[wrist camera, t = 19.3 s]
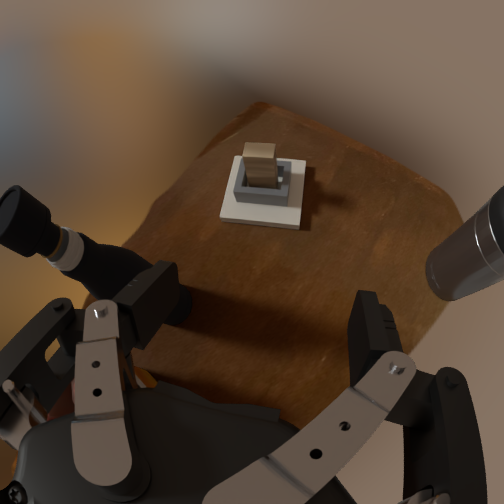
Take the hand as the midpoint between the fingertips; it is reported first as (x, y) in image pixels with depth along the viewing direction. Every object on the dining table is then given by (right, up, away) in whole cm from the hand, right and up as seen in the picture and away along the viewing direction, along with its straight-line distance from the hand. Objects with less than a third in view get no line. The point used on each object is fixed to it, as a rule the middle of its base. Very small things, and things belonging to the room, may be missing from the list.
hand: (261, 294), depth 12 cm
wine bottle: (-12, -6, +28) cm, 31 cm away
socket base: (+2, +11, +32) cm, 34 cm away
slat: (+2, +12, +31) cm, 33 cm away
